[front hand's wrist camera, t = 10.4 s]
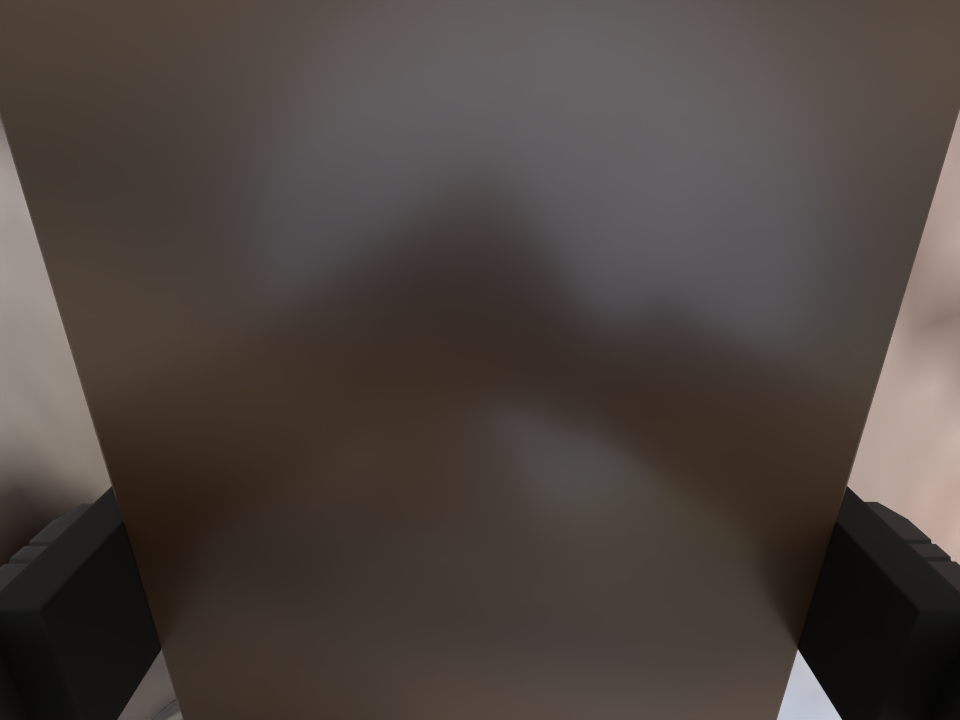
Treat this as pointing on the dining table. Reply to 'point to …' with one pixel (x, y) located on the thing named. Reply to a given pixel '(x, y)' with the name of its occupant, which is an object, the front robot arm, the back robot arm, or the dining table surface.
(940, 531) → the dining table surface
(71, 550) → the front robot arm
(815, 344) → the brown-grey rectangular block
